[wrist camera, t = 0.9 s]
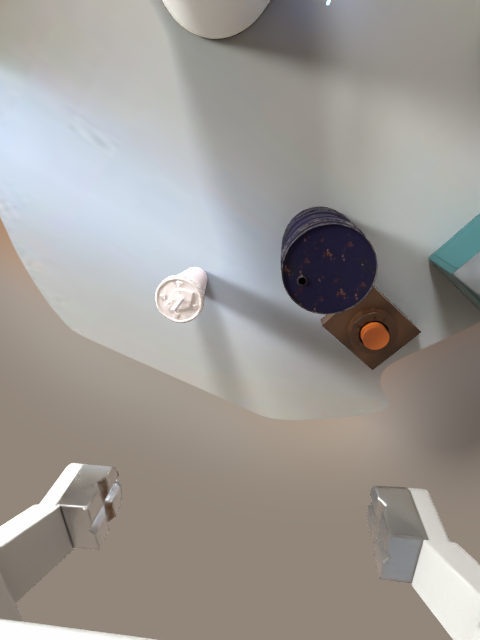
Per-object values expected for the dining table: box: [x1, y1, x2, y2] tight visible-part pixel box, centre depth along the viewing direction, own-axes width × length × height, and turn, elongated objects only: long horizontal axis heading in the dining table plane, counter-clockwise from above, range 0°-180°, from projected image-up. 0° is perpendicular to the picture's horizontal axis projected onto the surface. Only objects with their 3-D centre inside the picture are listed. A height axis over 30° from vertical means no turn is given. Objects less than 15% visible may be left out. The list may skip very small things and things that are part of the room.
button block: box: [321, 286, 421, 370], centre depth 52 cm, size 11×9×4 cm
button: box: [360, 322, 390, 350], centre depth 50 cm, size 4×4×2 cm
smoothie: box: [155, 267, 208, 323], centre depth 48 cm, size 6×6×14 cm
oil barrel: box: [281, 207, 377, 314], centre depth 43 cm, size 10×10×15 cm
